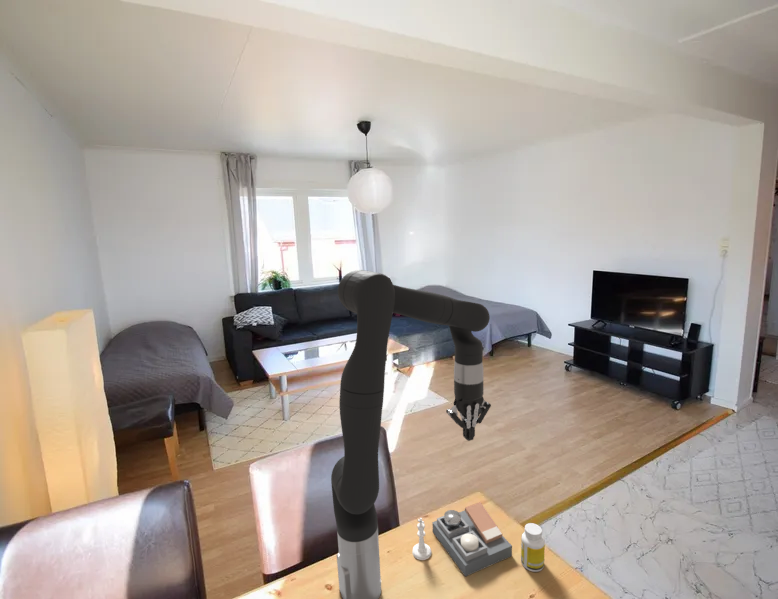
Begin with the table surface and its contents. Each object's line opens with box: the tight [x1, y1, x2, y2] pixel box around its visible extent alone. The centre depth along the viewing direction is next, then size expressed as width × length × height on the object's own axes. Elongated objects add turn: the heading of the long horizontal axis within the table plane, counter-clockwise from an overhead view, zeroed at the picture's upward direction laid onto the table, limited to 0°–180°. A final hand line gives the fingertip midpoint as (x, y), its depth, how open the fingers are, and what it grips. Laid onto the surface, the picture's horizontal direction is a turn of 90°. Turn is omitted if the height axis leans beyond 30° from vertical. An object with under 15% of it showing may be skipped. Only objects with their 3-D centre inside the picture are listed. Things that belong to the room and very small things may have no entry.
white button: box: [461, 534, 479, 553], centre depth 101 cm, size 4×4×2 cm
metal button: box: [443, 509, 461, 528], centre depth 108 cm, size 4×4×2 cm
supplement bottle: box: [520, 522, 546, 573], centre depth 99 cm, size 5×5×10 cm
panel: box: [431, 509, 513, 577], centre depth 107 cm, size 14×16×4 cm
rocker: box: [464, 501, 504, 544], centre depth 108 cm, size 5×10×1 cm, turn 23°
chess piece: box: [412, 517, 432, 561], centre depth 104 cm, size 5×5×10 cm
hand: (468, 438), depth 108 cm, fingers closed
